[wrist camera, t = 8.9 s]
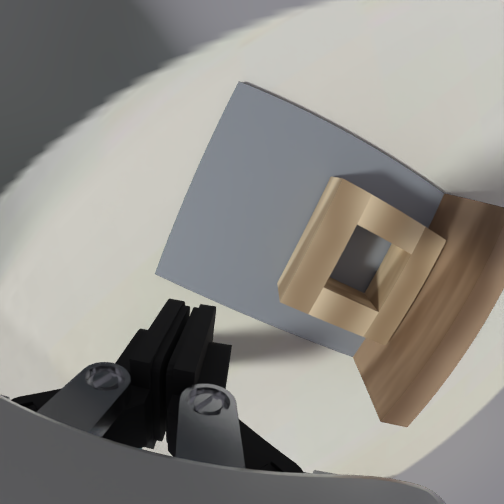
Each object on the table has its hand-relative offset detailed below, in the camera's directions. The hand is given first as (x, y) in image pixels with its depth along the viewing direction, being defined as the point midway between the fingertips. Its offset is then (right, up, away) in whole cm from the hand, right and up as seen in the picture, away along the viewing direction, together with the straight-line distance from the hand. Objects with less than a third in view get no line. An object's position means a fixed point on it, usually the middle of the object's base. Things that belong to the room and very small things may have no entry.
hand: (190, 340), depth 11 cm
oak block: (+11, +3, +17) cm, 20 cm away
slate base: (+8, +4, +16) cm, 19 cm away
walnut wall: (+17, 0, +17) cm, 24 cm away
